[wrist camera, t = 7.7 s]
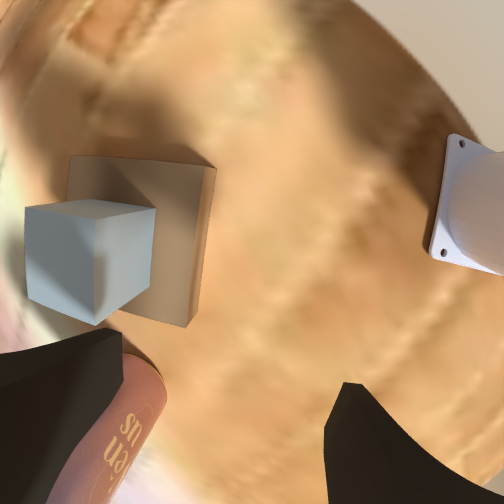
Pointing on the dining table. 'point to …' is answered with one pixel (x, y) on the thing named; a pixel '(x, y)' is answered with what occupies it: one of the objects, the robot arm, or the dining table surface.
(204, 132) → the dining table surface
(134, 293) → the pale grey-blue block
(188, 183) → the tan block
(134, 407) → the beverage can
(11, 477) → the robot arm
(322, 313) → the dining table surface
